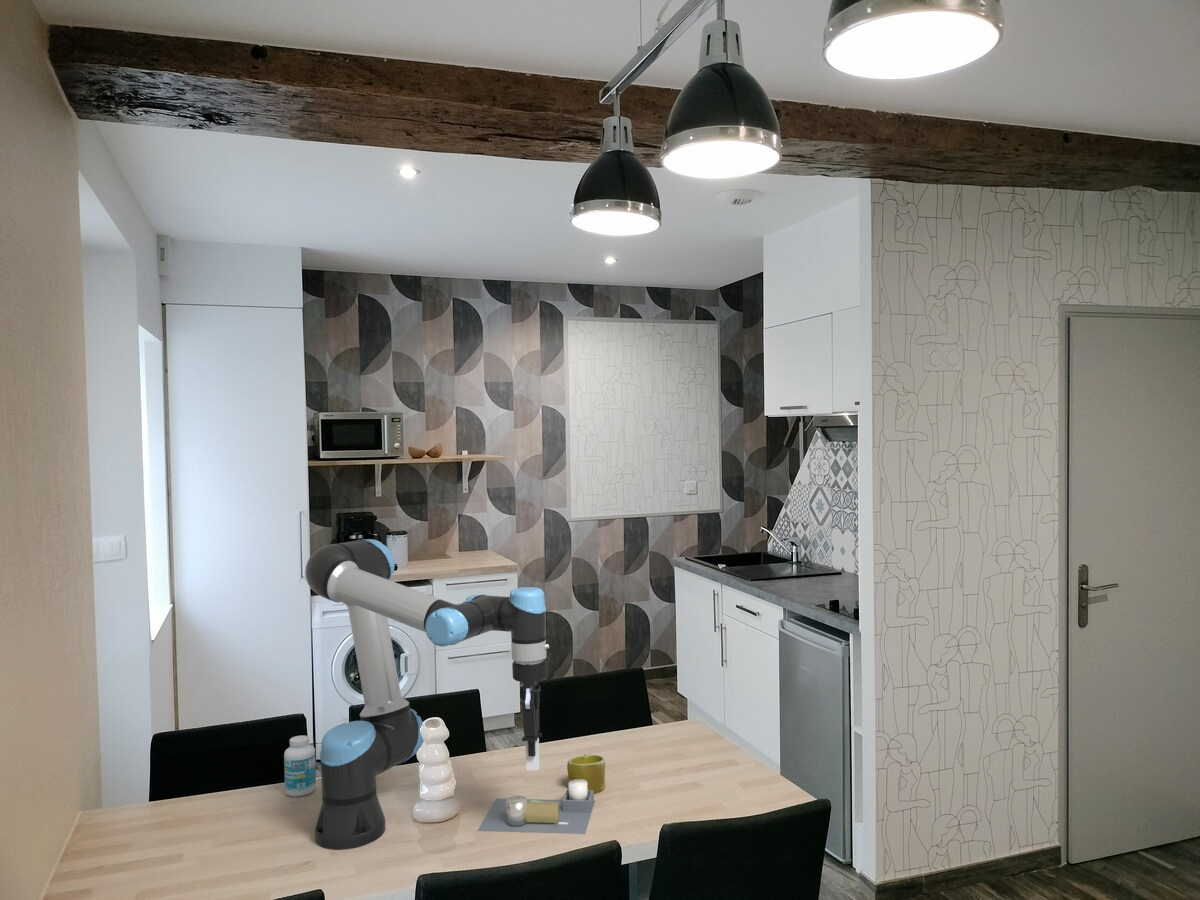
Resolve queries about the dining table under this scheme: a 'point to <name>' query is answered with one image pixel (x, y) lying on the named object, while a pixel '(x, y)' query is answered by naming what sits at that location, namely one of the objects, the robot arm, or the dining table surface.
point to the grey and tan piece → (531, 811)
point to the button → (578, 789)
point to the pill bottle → (299, 767)
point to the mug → (588, 771)
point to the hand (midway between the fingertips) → (533, 768)
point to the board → (570, 822)
